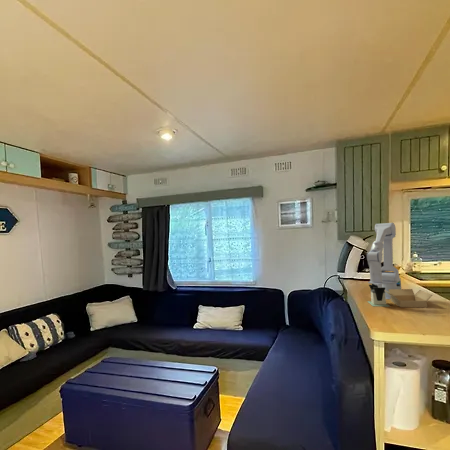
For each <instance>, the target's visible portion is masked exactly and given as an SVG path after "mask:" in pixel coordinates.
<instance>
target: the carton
mask: <svg viewBox="0 0 450 450" xmlns="http://www.w3.org/2000/svg"><path fill="white" fill-rule="evenodd" d="M384 291H385V290H384ZM386 292H387V291H386ZM414 292H415V291H414V290H413V288H401V289H389V292H387V293H388V294H389V295H390V296H391V299H390V302H391V303H393V304H394V305H396V306H398V307H399V308H428V303H427V302H428V301H429V300H430V298H431V297H433V294H432V293H428V292H426V291H423V290H421V289H418V291H417V292H416V293H414Z"/></svg>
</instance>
